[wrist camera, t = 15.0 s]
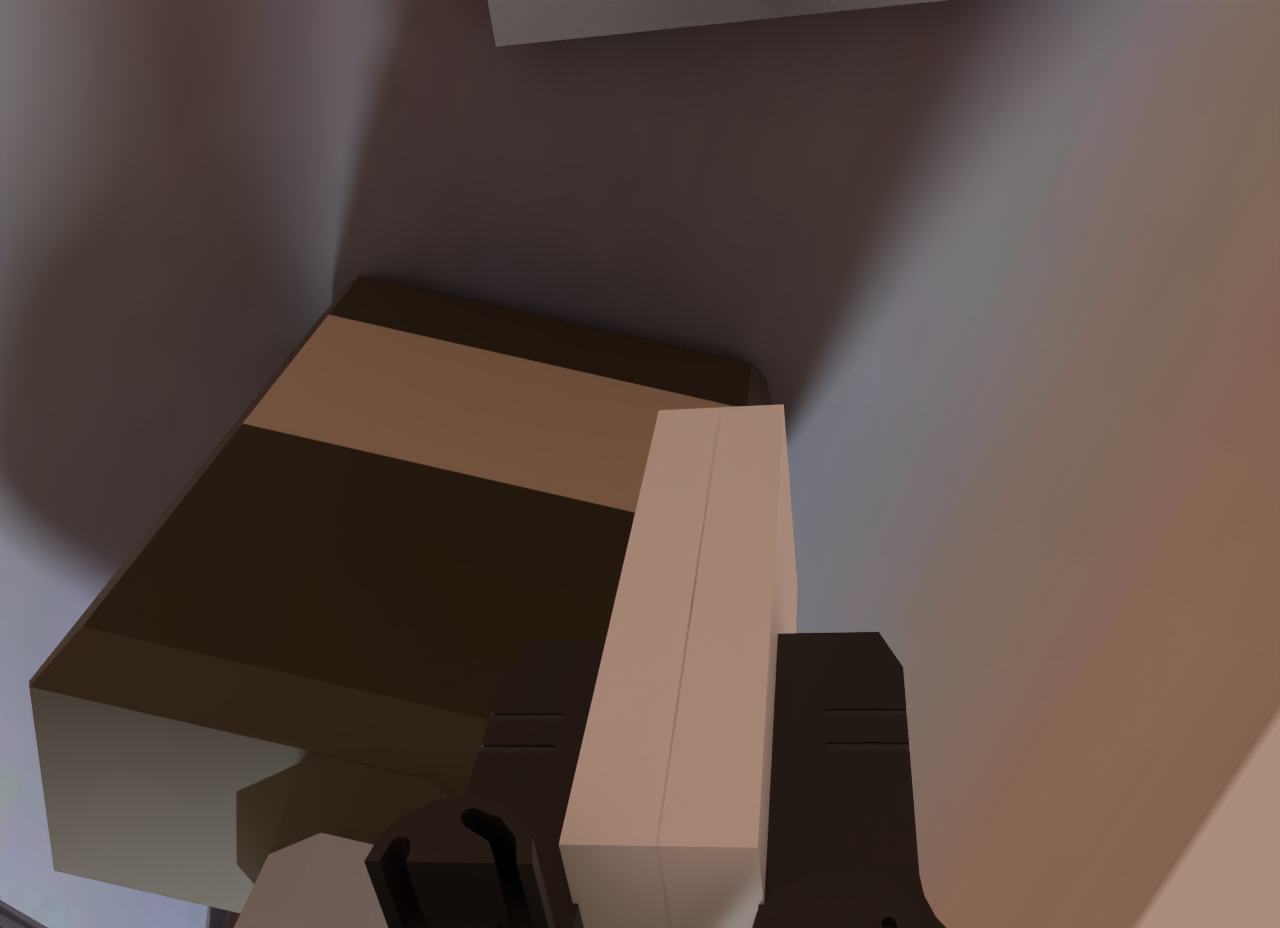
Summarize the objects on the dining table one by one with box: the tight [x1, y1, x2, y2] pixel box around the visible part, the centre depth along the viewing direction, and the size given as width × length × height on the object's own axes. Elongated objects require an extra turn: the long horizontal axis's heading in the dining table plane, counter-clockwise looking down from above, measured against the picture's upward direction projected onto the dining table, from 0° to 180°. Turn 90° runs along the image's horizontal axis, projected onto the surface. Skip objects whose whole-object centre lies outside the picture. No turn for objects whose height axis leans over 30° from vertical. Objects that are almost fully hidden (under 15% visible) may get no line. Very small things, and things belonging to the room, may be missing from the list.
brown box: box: [29, 276, 772, 928], centre depth 33 cm, size 8×16×25 cm, turn 80°
